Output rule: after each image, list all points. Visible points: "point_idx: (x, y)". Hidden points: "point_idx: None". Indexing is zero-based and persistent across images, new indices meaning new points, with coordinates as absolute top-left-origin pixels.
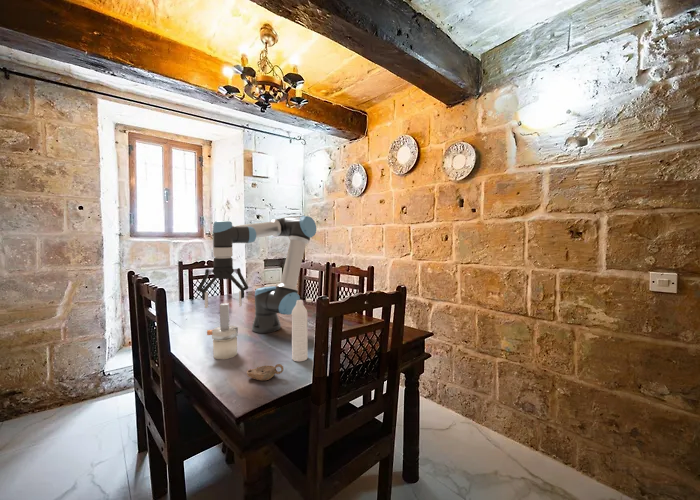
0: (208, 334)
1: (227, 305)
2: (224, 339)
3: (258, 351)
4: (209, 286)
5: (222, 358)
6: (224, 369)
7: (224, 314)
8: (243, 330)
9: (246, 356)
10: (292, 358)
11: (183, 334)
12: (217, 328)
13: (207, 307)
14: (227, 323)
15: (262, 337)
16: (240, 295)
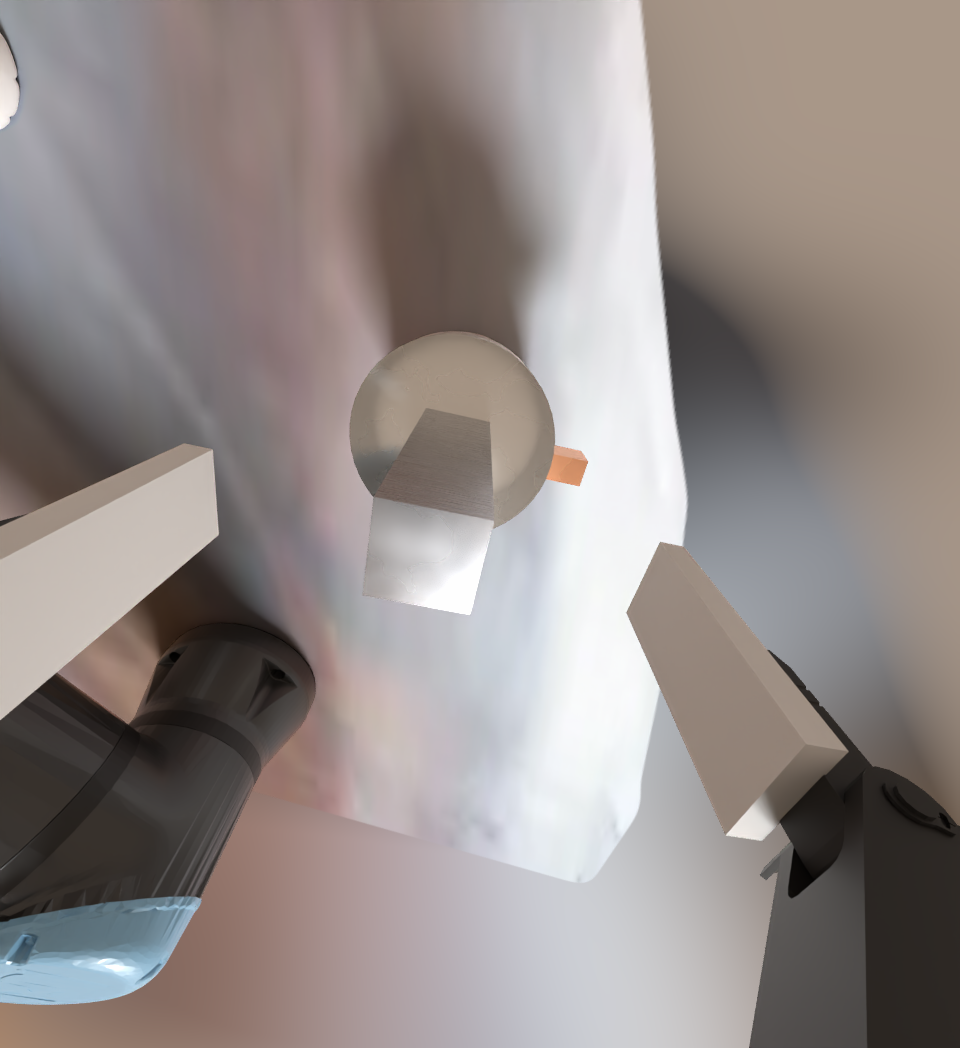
0: (572, 451)
1: (381, 493)
2: (466, 332)
3: (275, 365)
4: (867, 966)
5: (484, 336)
6: (487, 140)
7: (442, 458)
8: (358, 696)
9: (346, 314)
10: (2, 47)
11: (615, 743)
12: (505, 494)
13: (645, 573)
14: (424, 423)
15: (259, 572)
16: (17, 527)
